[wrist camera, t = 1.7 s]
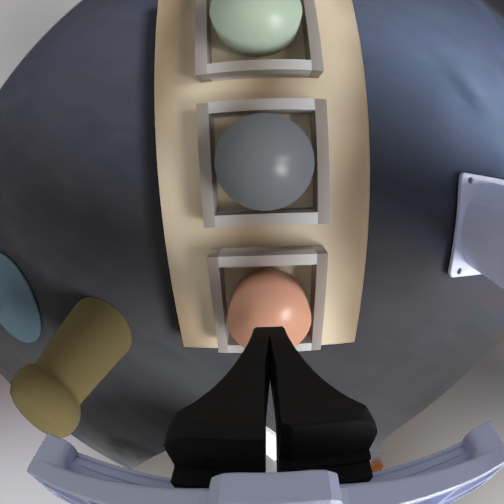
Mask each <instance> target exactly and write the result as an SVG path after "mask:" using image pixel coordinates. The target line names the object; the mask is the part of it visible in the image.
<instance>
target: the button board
mask: <svg viewBox="0 0 504 504" xmlns="http://www.w3.org/2000/svg"><path fill="white" fill-rule="evenodd" d="M211 2H212V0H158V10H157V23H156V39H155V69H154V103H155V135H156V153H157V168H158V180H159V191H160V202H161V211H162V220H163V228H164V236H165V243H166V250H167V257H168V264H169V270H170V276H171V282H172V288H173V294H174V299H175V305H176V310H177V315H178V320H179V325H180V330H181V335H182V339H183V344H184V347H201V348H218V351H219V353H243V351H244V349H245V348H244V347H242V346H241V345H240V344H238V343H237V342H236V341H235V339H234V338H233V337H232V335H231V333H230V331H229V328H228V323H227V317H228V311H229V307H230V302H231V297H232V294H233V291H234V289H235V287H236V285H237V284H238V283H239V282H240V280H241V279H243V278H244V277H245V276H247V275H248V274H250V273H252V272H255V271H258V270H262V269H276V270H281V271H284V272H286V273H288V274H290V275H292V276H293V277H294V278H296V279H297V280H298V281H299V282H300V284H301V285H302V287H303V289H304V291H305V294H306V298H307V301H308V304H309V308H310V311H311V326H310V329H309V331H308V333H307V335H306V336H305V338H304V339H303V340H302V341H301V342H300V343H299V344H298V345H297V346H295V348H296V350H297V351H309V350H321V345H327V344H338V343H349V342H354V341H355V335H356V329H357V323H358V317H359V311H360V304H361V296H362V289H363V281H364V272H365V262H366V251H367V238H368V223H369V200H370V143H369V121H368V106H367V94H366V84H365V75H364V67H363V59H362V52H361V46H360V40H359V34H358V28H357V23H356V18H355V13H354V8H353V4H352V0H300V2H301V5H302V17H301V21H300V24H299V28H298V31H297V34H296V37H295V39H294V40H293V42H292V43H291V44H290V45H289V46H288V47H287V48H285V49H284V50H282V51H280V52H278V53H276V54H273V55H269V56H263V57H250V56H244V55H241V54H237V53H235V52H233V51H231V50H230V49H228V48H227V47H225V46H224V45H223V44H222V43H221V41H220V40H219V38H218V36H217V33H216V31H215V28H214V26H213V23H212V21H211V18H210V12H209V11H210V5H211ZM257 113H271V114H276V115H280V116H283V117H285V118H287V119H289V120H291V121H292V122H294V123H295V124H296V125H298V126H299V127H300V128H301V129H302V130H303V131H304V133H305V134H306V136H307V137H308V139H309V141H310V143H311V145H312V148H313V152H314V160H315V164H314V172H313V176H312V179H311V182H310V184H309V186H308V187H307V189H306V190H305V192H304V193H303V194H302V195H301V196H300V197H299V198H298V199H297V200H296V201H294V202H293V203H291V204H289V205H287V206H285V207H283V208H280V209H276V210H270V211H259V210H253V209H250V208H247V207H244V206H242V205H240V204H238V203H237V202H235V201H234V200H233V199H231V198H230V197H229V196H228V195H227V194H226V192H225V191H224V190H223V189H222V187H221V185H220V183H219V181H218V179H217V176H216V172H215V166H214V157H215V151H216V147H217V144H218V142H219V140H220V138H221V136H222V135H223V133H224V132H225V131H226V130H227V129H228V128H229V127H230V126H231V125H232V124H233V123H235V122H236V121H237V120H239V119H241V118H243V117H246V116H248V115H252V114H257Z"/></svg>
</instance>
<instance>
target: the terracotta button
mask: <svg viewBox="0 0 504 504" xmlns="http://www.w3.org/2000/svg"><path fill="white" fill-rule="evenodd" d="M227 323H228V328H229V331H230V333H231V335H232V337H233V338H234V339H235V341H236V342H237V343H238V344H240V345H241V346H242V347H244V348H245V347H246V346H247V344H248V342H249V340H250V338H251V335H252V333H253V329H254V328H255V327H278V326H283V327H284V328H285V331H286V333H287V335H288V337H289V339H290V340H291V342H292V344H293V345H294V347H295V346H297V345H298V344H299V343H300V342H301V341H302V340H303V339H304V338H305V336H306V335H307V333H308V331H309V329H310V326H311V311H310V308H309V304H308V301H307V298H306V294H305V291H304V289H303V287H302V285H301V284H300V282H299V281H298V280H297V279H296V278H294V277H293V276H292V275H290V274H288V273H286V272H284V271H281V270H276V269H262V270H258V271H255V272H252V273H250V274H248V275H247V276H245V277H244V278H243V279H241V280H240V282H239V283H238V284H237V285H236V287H235V289H234V291H233V294H232V297H231V302H230V307H229V311H228V317H227Z"/></svg>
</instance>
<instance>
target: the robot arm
mask: <svg viewBox="0 0 504 504" xmlns="http://www.w3.org/2000/svg"><path fill="white" fill-rule="evenodd" d="M468 179H470V181H469V182H468ZM458 269H459V270H458ZM457 270H458V272H457ZM448 274H449V275H450V276H451V277H462V276H470V275H479V274H483V275H484V276H486V277H487V278H488V279H490V280H491V281H493V282H494V283H496V284H497V285H498V286H500V287H501V288H502V289H504V180H503V179H498V178H493V177H487V176H482V175H476V174H471V173H464V172H463V173H461V174H460V175H459V186H458V202H457V214H456V223H455V232H454V239H453V246H452V252H451V258H450V264H449V269H448ZM270 382H271V389H272V396H273V403H274V411H275V419H276V457H277V472H267V473H266V414H267V404H268V394H269V384H270ZM376 434H377V428H376V424H375V421H374V419H373V417H372V415H371V414H370V412H369V410H368V408H367V407H366V406H365V405H363V404H361V403H359V402H357V401H355V400H353V399H351V398H349V397H347V396H345V395H344V394H342V393H340V392H339V391H337V390H336V389H335V388H333V387H332V386H331V385H329V384H328V383H327V382H325V381H324V380H323V379H322V378H321V377H320V376H319V375H318V374H317V373H315V372H314V371H313V369H312V368H311V367H310V366H309V365H308V364H307V363H306V362H305V360H304V359H303V358H302V357H301V355H300V354H299V353H298V351H297V350H296V348H295V347H294V345H293V344H292V342H291V340H290V339H289V337H288V335H287V333H286V331H285V328H284V327H283V326H278V327H255V328H254V329H253V333H252V335H251V338H250V340H249V342H248V344H247V346H246V347H245V349H244V351H243V353H242V354H241V356H240V357H239V359H238V360H237V362H236V363H235V364H234V366H233V367H232V368H231V370H230V371H229V372H228V373H227V374H226V375H225V377H224V378H223V379H222V380H221V381H220V382H219V383H218V384H217V385H216V386H215V387H213V388H212V389H211V390H210V391H209V392H207V393H206V394H205V395H203V396H202V397H201V398H200V399H198V400H197V401H195V402H194V403H192V404H190V405H189V406H187V407H185V408H183V409H182V410H180V411H178V412H177V413H176V415H175V416H174V418H173V420H172V422H171V424H170V426H169V429H168V432H167V436H166V439H165V443H164V447H165V450H166V452H167V454H168V455H169V457H170V459H171V460H172V462H173V464H174V469H173V473H172V477H171V478H167V477H162V476H157V475H152V474H147V473H143V472H139V471H135V470H131V469H127V468H123V467H120V466H116V465H113V464H109V463H107V462H103V461H100V460H97V459H94V458H92V457H89V456H86V455H83V454H81V453H78V452H77V450H76V449H75V448H74V446H73V445H71V444H70V443H69V442H67V441H66V440H63V439H61V438H59V437H56V436H54V435H52V434H49V433H48V434H47V436H46V438H45V439H44V441H43V442H42V444H41V446H40V447H39V449H38V451H37V453H36V454H35V456H34V458H33V460H32V461H31V463H30V465H29V467H28V469H27V472H28V473H29V474H31V475H32V476H33V477H34V478H35V479H36V480H37V481H39V482H40V483H41V484H42V485H43V486H45V487H46V488H47V489H48V490H50V491H51V492H52V493H53V494H55V495H56V496H58V497H59V498H61V499H63V500H65V501H67V502H69V503H71V504H450V503H452V502H454V501H455V500H457V499H459V498H461V497H463V496H465V495H466V494H468V493H470V492H472V491H473V490H475V489H477V488H478V487H480V486H482V485H483V484H484V483H485V482H486V481H488V480H489V479H490V478H491V477H492V476H493V475H494V474H495V473H496V472H497V471H499V470H500V469H501V468H502V467H503V466H504V443H503V441H502V439H501V438H500V436H499V434H498V433H497V431H496V429H495V428H494V426H493V424H492V423H491V421H488V422H486V423H484V424H482V425H481V426H478V427H476V428H475V429H473V430H472V431H470V432H469V433H468V434H467V435H466V436H465V438H464V439H463V441H462V442H460V443H458V444H456V445H453V446H451V447H449V448H447V449H444V450H442V451H439V452H437V453H434V454H431V455H429V456H426V457H423V458H421V459H418V460H415V461H411V462H408V463H405V464H402V465H398V466H395V467H391V468H388V469H384V470H380V471H376V472H372V469H371V466H370V462H369V460H370V459H371V455H370V451H369V449H370V447H371V445H372V443H373V441H374V439H375V437H376Z"/></svg>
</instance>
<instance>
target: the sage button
mask: <svg viewBox="0 0 504 504" xmlns="http://www.w3.org/2000/svg"><path fill="white" fill-rule="evenodd" d="M209 12H210V18H211V21H212V23H213V26H214V28H215V31H216V33H217V36H218V38H219V40H220V41H221V43H222V44H223V45H224V46H225V47H227V48H228V49H230V50H231V51H233V52H235V53H237V54H241V55H244V56H250V57H263V56H269V55H273V54H276V53H278V52H280V51H282V50H284V49H285V48H287V47H288V46H289V45H290V44H291V43H292V42H293V40H294V39H295V37H296V34H297V31H298V28H299V24H300V21H301V17H302V5H301V2H300V0H212V2H211V5H210V11H209Z"/></svg>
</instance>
